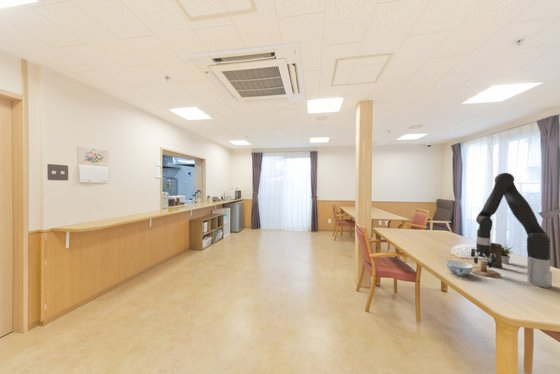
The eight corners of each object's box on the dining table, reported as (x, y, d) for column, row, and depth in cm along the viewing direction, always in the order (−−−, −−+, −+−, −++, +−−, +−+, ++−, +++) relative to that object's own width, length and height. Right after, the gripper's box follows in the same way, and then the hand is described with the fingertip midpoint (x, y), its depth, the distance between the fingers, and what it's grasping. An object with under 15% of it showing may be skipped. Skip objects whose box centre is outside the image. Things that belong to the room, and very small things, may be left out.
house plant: (486, 260, 181) (486, 241, 181) (494, 258, 186) (493, 239, 186) (509, 266, 168) (509, 245, 168) (517, 263, 174) (517, 243, 173)
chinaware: (478, 280, 144) (478, 268, 144) (453, 278, 147) (453, 267, 147) (464, 271, 159) (464, 261, 159) (441, 269, 162) (441, 259, 162)
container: (504, 270, 161) (504, 246, 161) (487, 267, 166) (487, 244, 166) (501, 266, 168) (501, 243, 168) (485, 264, 173) (485, 242, 173)
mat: (506, 276, 149) (506, 276, 149) (490, 280, 144) (490, 279, 144) (477, 267, 165) (477, 267, 165) (462, 270, 160) (462, 269, 160)
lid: (506, 276, 149) (506, 264, 149) (490, 279, 144) (490, 267, 144) (477, 267, 165) (477, 256, 165) (462, 269, 160) (462, 259, 160)
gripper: (499, 245, 149) (498, 268, 149) (475, 240, 163) (475, 261, 163) (491, 246, 147) (491, 269, 147) (468, 241, 161) (468, 262, 161)
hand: (482, 265), depth 155 cm, fingers open, 8 cm apart
